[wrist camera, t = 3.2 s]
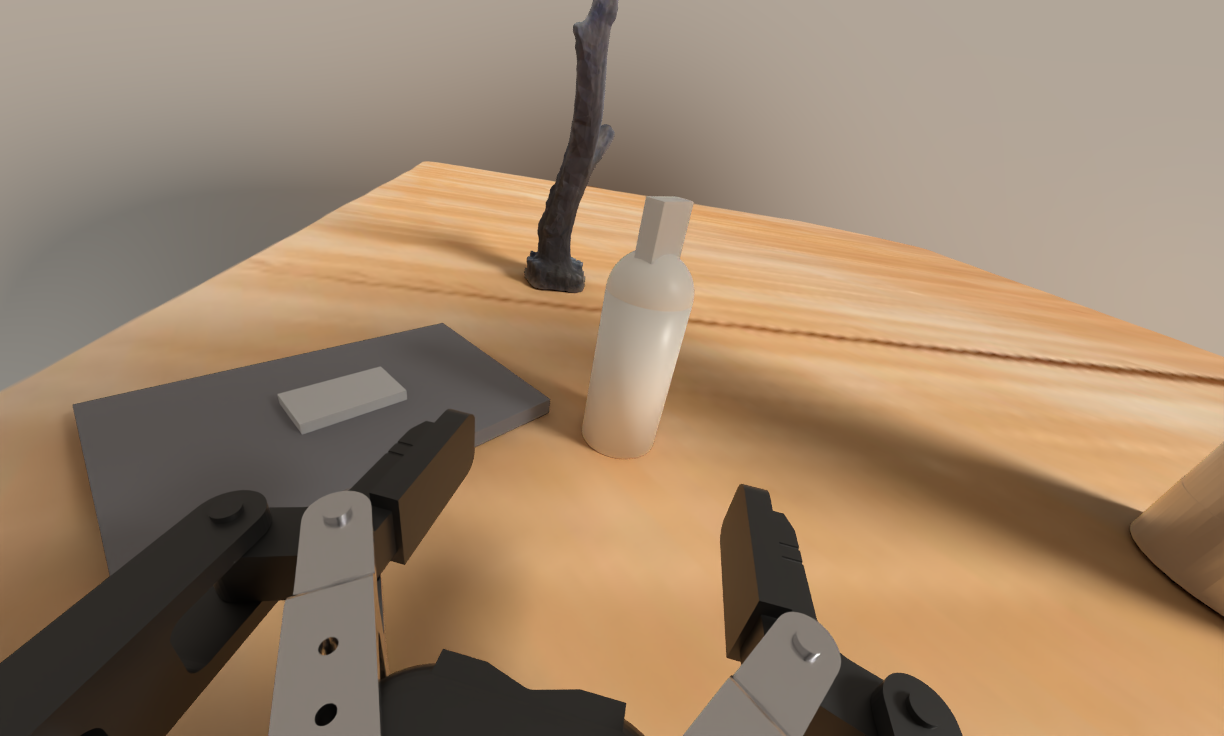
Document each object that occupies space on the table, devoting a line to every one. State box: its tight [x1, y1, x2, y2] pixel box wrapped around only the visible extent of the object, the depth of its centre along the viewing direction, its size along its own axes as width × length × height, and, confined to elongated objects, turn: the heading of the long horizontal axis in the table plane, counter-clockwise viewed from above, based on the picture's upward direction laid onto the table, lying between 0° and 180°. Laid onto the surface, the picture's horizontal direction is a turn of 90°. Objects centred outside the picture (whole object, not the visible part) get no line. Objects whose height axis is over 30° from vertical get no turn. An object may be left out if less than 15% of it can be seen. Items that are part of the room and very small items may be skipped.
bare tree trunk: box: [524, 0, 618, 293], centre depth 40 cm, size 12×8×25 cm
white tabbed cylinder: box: [582, 196, 694, 459], centre depth 23 cm, size 4×4×14 cm
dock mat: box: [73, 323, 550, 576], centre depth 23 cm, size 18×12×2 cm, turn 137°
